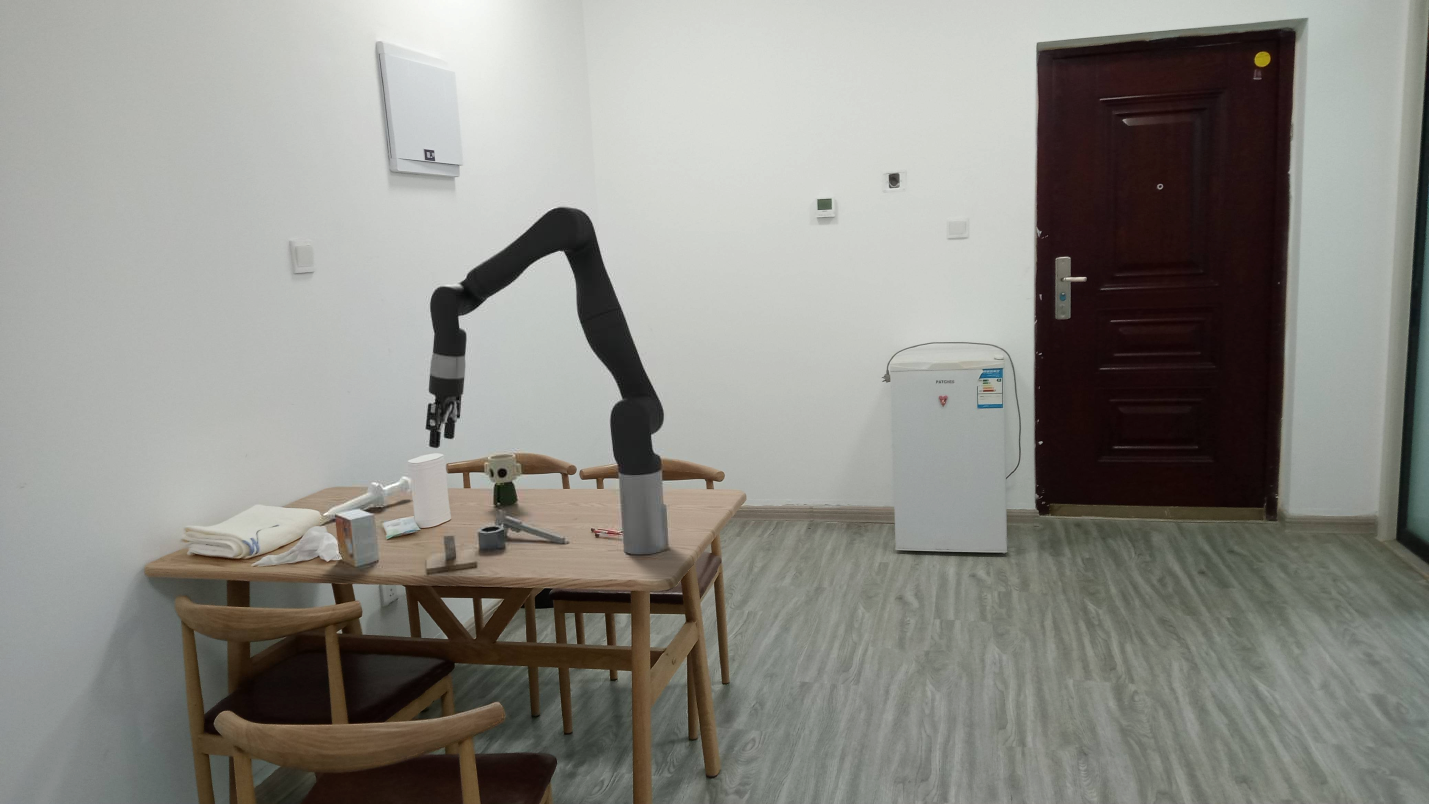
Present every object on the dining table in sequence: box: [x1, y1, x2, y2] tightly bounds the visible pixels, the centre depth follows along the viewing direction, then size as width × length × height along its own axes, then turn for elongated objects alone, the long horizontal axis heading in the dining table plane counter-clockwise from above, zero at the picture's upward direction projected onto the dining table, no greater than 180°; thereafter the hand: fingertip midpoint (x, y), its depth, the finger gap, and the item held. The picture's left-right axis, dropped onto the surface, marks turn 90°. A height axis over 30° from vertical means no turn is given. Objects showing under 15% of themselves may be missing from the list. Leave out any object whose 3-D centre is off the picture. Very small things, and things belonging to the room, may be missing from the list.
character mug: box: [483, 453, 523, 507], centre depth 243 cm, size 11×7×13 cm, turn 70°
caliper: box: [494, 509, 570, 545], centre depth 213 cm, size 20×1×6 cm, turn 62°
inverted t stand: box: [425, 533, 478, 574], centre depth 198 cm, size 10×10×6 cm
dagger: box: [322, 476, 412, 520], centre depth 246 cm, size 8×6×28 cm
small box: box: [334, 509, 380, 568], centre depth 203 cm, size 8×6×10 cm
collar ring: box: [477, 524, 506, 552], centre depth 208 cm, size 6×6×4 cm
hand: (441, 442), depth 213 cm, fingers open, 8 cm apart
